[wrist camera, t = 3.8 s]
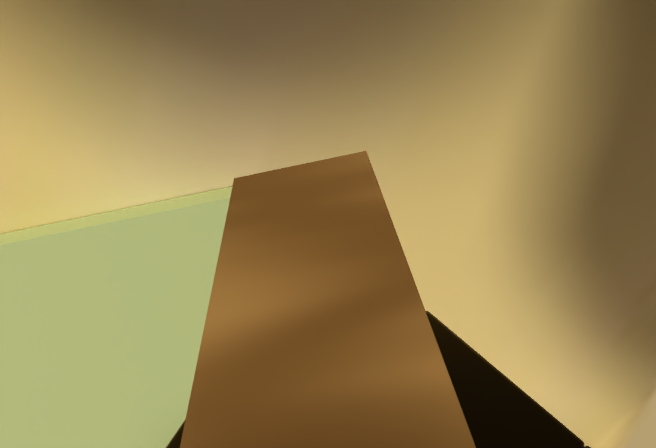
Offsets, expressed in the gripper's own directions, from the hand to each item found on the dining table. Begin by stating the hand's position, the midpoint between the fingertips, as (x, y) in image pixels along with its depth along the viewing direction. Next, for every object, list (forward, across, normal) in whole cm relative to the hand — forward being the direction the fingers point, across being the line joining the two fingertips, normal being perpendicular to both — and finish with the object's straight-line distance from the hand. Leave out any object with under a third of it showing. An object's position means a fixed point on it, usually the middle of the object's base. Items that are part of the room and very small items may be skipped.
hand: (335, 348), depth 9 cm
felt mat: (+8, +10, +9) cm, 16 cm away
